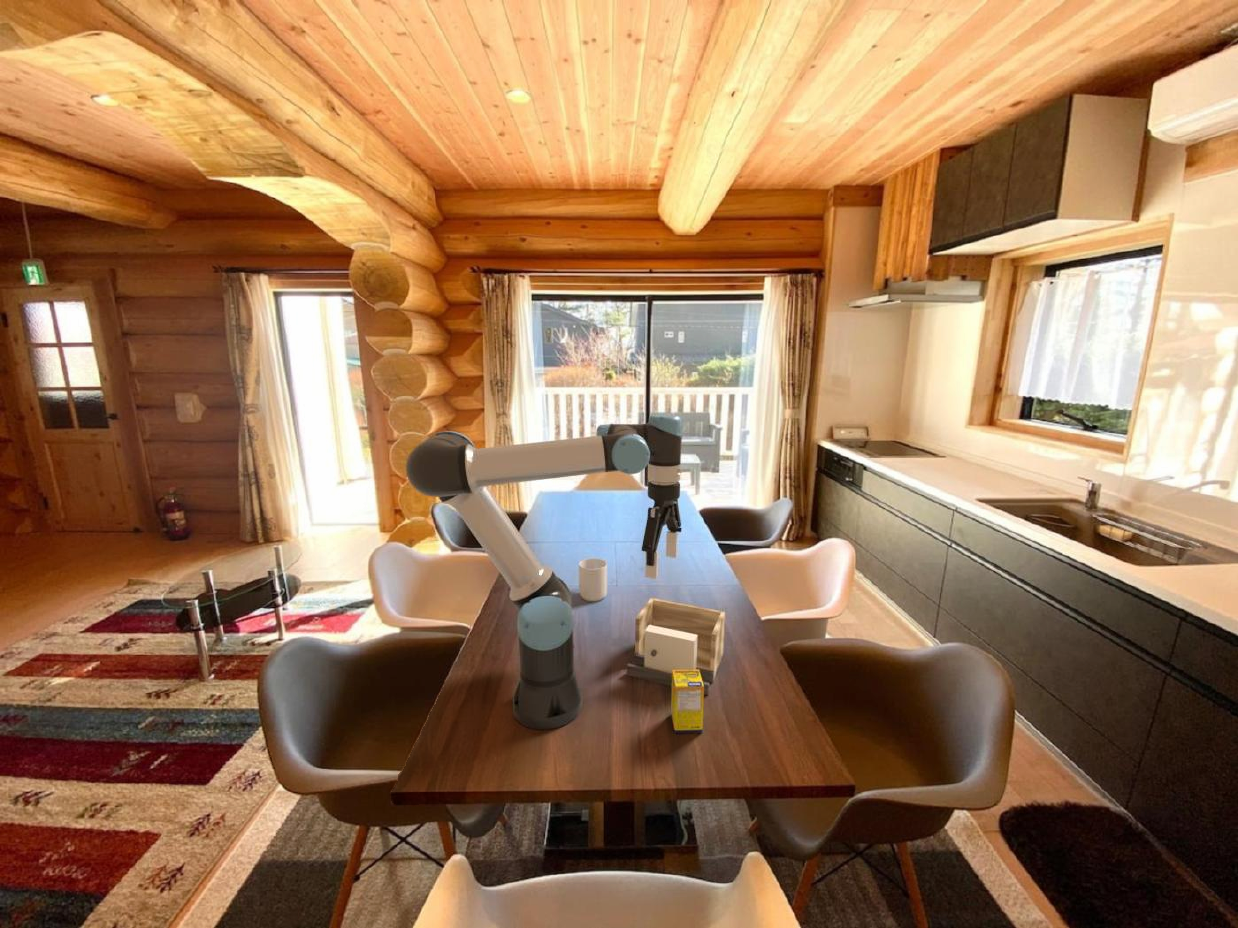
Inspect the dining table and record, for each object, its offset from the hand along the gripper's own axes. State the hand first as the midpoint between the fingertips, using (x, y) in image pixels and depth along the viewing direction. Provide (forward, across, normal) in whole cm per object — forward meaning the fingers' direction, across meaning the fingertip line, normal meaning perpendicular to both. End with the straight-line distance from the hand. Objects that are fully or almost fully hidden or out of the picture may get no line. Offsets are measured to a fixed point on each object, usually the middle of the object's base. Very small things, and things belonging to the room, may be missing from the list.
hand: (661, 566), depth 125 cm
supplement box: (+26, -18, -13) cm, 34 cm away
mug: (+26, +26, +33) cm, 49 cm away
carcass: (+26, +2, -4) cm, 26 cm away
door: (+26, -5, -4) cm, 27 cm away
